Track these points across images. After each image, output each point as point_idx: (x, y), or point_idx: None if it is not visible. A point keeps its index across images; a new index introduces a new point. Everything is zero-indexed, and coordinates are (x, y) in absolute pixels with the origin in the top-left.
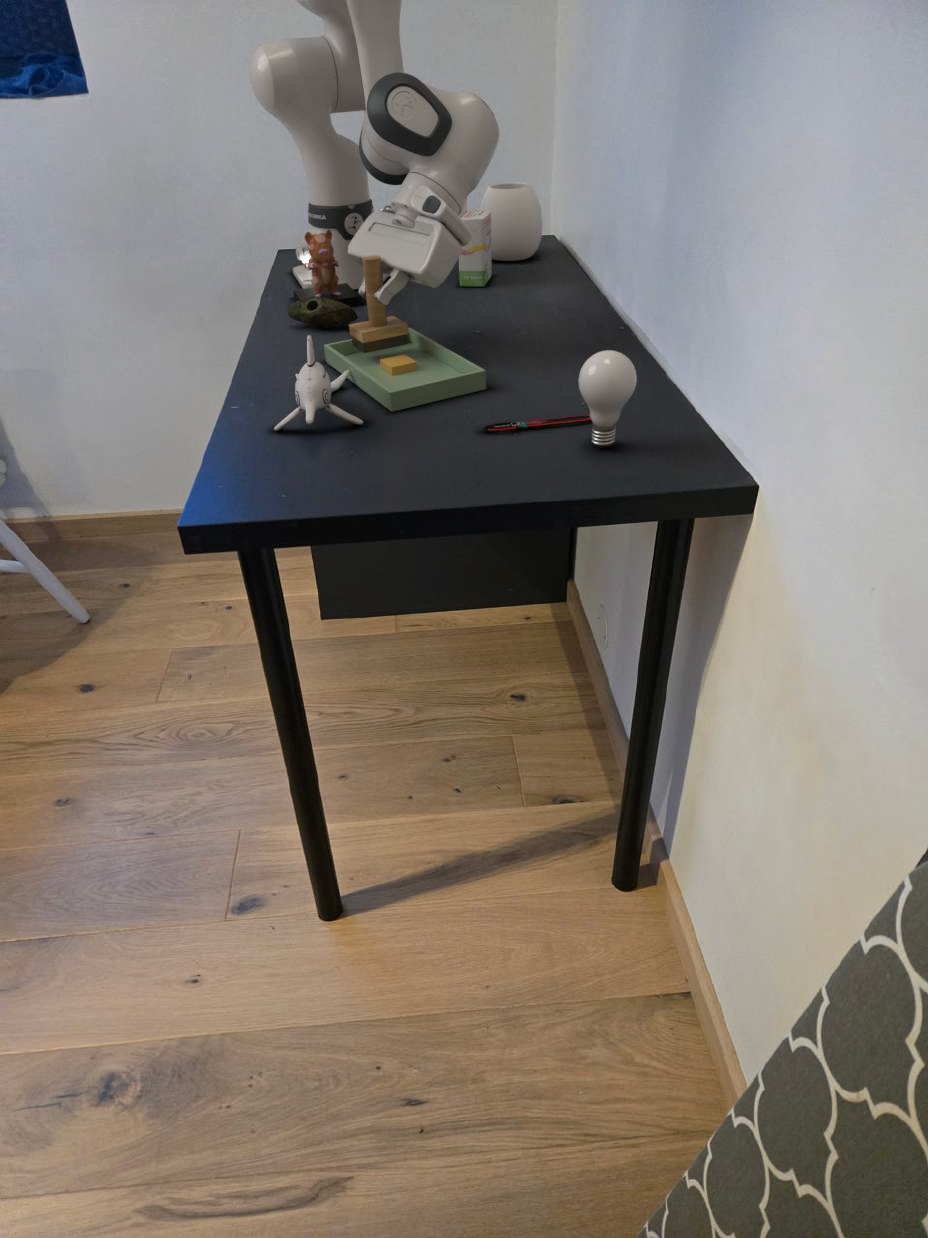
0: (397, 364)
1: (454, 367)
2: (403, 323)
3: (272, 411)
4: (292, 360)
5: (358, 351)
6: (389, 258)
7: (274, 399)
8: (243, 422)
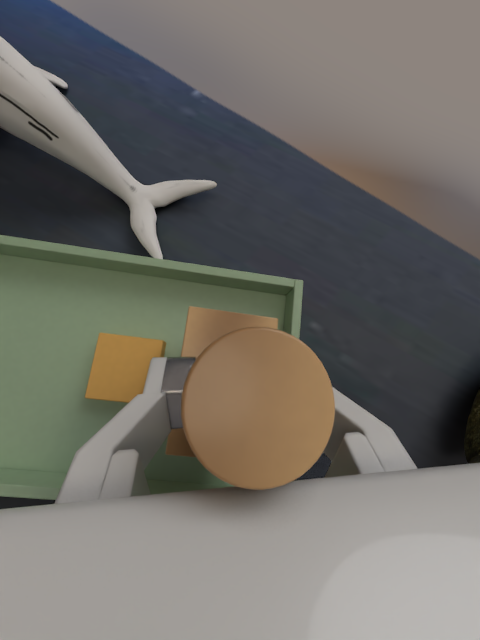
0: (103, 352)
1: (24, 470)
2: (173, 443)
3: (139, 118)
4: (340, 252)
5: None
6: (170, 541)
7: (184, 143)
8: (131, 73)
